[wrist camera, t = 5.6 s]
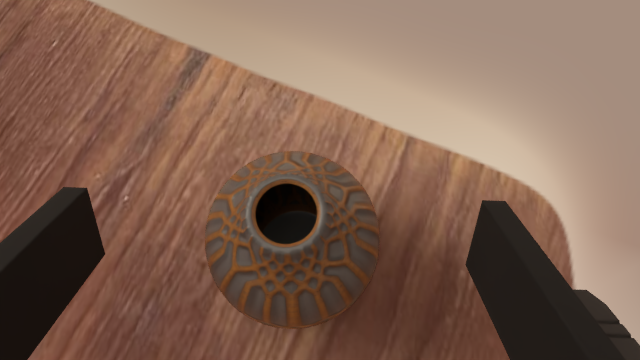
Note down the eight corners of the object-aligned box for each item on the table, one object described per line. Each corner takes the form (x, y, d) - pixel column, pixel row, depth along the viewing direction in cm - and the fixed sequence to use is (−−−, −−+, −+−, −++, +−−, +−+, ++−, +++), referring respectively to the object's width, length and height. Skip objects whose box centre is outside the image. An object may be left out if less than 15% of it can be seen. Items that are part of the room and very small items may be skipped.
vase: (358, 176, 21) (388, 95, 13) (375, 315, 19) (424, 326, 11) (224, 188, 21) (166, 112, 12) (229, 330, 19) (162, 354, 11)
